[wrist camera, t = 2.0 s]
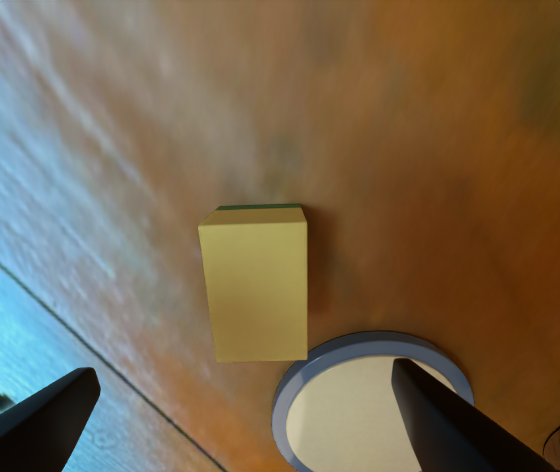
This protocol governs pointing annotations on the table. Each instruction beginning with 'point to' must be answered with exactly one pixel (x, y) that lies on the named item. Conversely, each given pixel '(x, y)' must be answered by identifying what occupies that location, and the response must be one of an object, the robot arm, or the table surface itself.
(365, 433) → the plate
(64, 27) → the table surface
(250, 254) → the sponge
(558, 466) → the disposable coffee cup
